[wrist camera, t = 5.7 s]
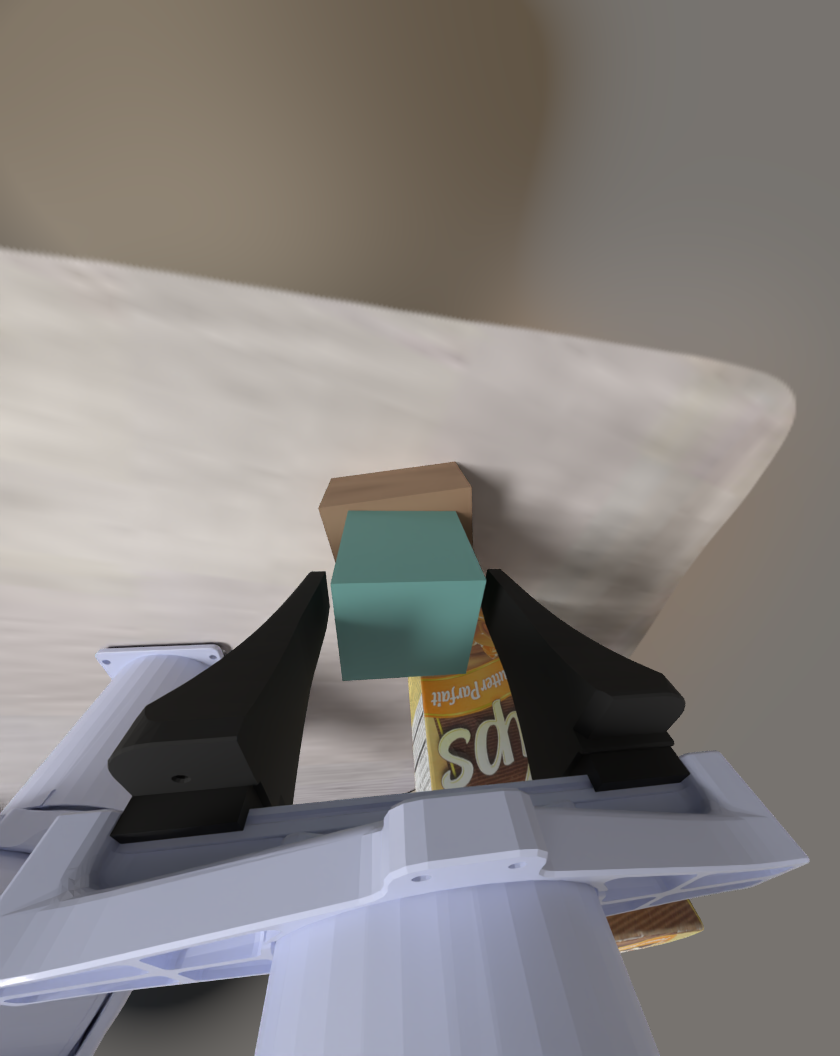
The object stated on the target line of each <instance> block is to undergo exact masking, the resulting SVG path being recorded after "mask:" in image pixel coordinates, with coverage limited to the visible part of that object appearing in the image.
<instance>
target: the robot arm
mask: <svg viewBox="0 0 840 1056" xmlns="http://www.w3.org/2000/svg"><path fill="white" fill-rule="evenodd" d="M329 608H330V605H329V596H328V588H327V580H326V571H323V572H310V573H309V574H308V575H307V576H306V578H305V579H304V580H303V581H302V582H301V584H300V585H299V586H298V587H297V589H296V590H295V591H294V592H293V593H292V594H291V596H290V597H289V598H288V599H287V600H286V601H285V602H284V603H283V604H282V606H281V607H280V608H279V609H278V610H277V611H276V612H275V613H274V614H273V615H272V616H271V617H270V618H269V619H268V620H267V621H266V622H265V623H264V624H263V625H262V626H261V627H260V628H259V629H257V630H256V631H255V632H254V633H253V634H252V635H251V636H249V637H248V638H247V639H246V640H245V641H244V642H242V643H241V644H240V645H239V646H237V647H236V648H235V649H233V650H232V651H231V652H229V653H228V654H227V655H226V656H224V655H223V652H222V650H221V648H220V647H219V646H218V645H215V644H207V645H182V646H156V647H131V648H105V649H101V650H99V651H98V652H97V653H96V654H95V657H96V659H97V660H98V661H99V663H100V664H101V665H102V667H103V668H104V669H105V671H106V672H107V674H108V675H109V676H110V678H111V679H112V681H111V682H110V683H109V685H108V686H107V687H106V688H105V689H104V691H103V692H102V693H101V694H100V695H99V696H98V698H97V699H96V700H95V701H94V702H93V704H92V705H91V706H90V707H89V708H88V710H87V711H86V712H85V713H84V714H83V715H82V717H81V718H80V719H79V720H78V721H77V723H76V724H75V725H74V726H73V727H72V729H71V730H70V731H69V732H68V733H67V735H66V736H65V737H64V738H63V739H62V740H61V742H60V743H59V744H58V745H57V746H56V748H55V749H54V750H53V751H52V752H51V754H50V755H49V756H48V757H47V758H46V759H45V761H44V762H43V763H42V764H41V765H40V767H39V768H38V769H37V770H36V771H35V773H34V774H33V775H32V776H31V777H30V778H29V780H28V781H27V782H26V783H25V784H24V786H23V787H22V788H21V789H20V790H19V792H18V793H17V794H16V795H15V796H14V797H13V799H12V800H11V801H10V802H9V803H8V805H7V806H6V807H5V808H4V809H3V811H2V812H1V813H0V1056H93V1054H94V1052H95V1051H96V1049H97V1047H98V1045H99V1044H100V1042H101V1040H102V1038H103V1037H104V1035H105V1033H106V1032H107V1030H108V1028H109V1027H110V1026H111V1024H112V1023H113V1021H114V1020H115V1018H116V1017H117V1015H118V1014H119V1012H120V1010H121V1009H122V1007H123V1005H124V1004H125V1002H126V1000H127V998H128V997H129V995H130V993H131V991H132V990H135V989H143V988H152V987H160V986H169V985H178V984H186V983H195V982H203V981H212V980H221V979H229V978H238V977H246V976H254V975H264V974H270V975H269V981H268V986H267V991H266V997H265V1003H264V1007H263V1013H262V1018H261V1024H260V1029H259V1034H258V1040H257V1045H256V1050H255V1056H660V1054H659V1051H658V1049H657V1046H656V1044H655V1041H654V1039H653V1036H652V1033H651V1031H650V1029H649V1026H648V1024H647V1021H646V1018H645V1016H644V1013H643V1010H642V1008H641V1005H640V1003H639V1000H638V998H637V995H636V993H635V990H634V987H633V985H632V982H631V980H630V977H629V975H628V972H627V970H626V967H625V965H624V962H623V959H622V957H621V954H620V952H619V949H618V947H617V944H616V941H615V939H614V936H613V934H612V931H611V929H610V926H609V924H608V921H607V918H606V917H607V916H612V915H616V914H621V913H625V912H630V911H635V910H639V909H644V908H649V907H653V906H658V905H662V904H667V903H672V902H676V901H681V900H686V899H691V898H695V897H700V896H705V895H711V894H717V893H722V892H728V891H733V890H739V889H745V888H750V887H753V886H755V885H758V884H760V883H762V882H765V881H767V880H769V879H772V878H774V877H777V876H778V875H781V874H783V873H786V872H788V871H791V870H793V869H795V868H797V867H800V866H802V865H805V864H807V863H809V857H808V856H807V855H806V854H805V853H804V851H803V850H802V849H801V848H800V847H799V845H798V844H797V843H796V842H795V841H794V840H793V838H792V837H791V836H790V835H789V834H788V833H787V831H786V830H785V829H784V828H783V826H782V825H781V824H780V823H779V822H778V821H777V819H776V818H775V817H774V816H773V815H772V813H771V812H770V811H769V810H768V809H767V808H766V806H765V805H764V804H763V803H762V802H761V801H760V799H759V798H758V797H757V796H756V794H755V793H754V792H753V791H752V790H751V788H750V787H749V786H748V785H747V784H746V783H745V781H744V780H743V779H742V778H741V777H740V775H739V774H738V773H737V772H736V771H735V770H734V769H733V767H732V766H731V765H730V764H729V762H728V761H727V760H726V759H725V758H724V757H723V755H722V754H721V753H720V752H719V751H716V750H713V751H702V752H692V753H687V754H683V755H681V756H679V757H678V756H677V755H676V753H675V752H674V751H673V749H672V748H671V746H673V745H674V741H673V739H672V738H671V737H670V735H669V734H668V733H667V730H668V729H669V728H670V727H671V726H672V724H673V723H674V722H675V721H676V720H677V719H678V718H679V717H680V715H681V714H682V713H683V711H684V708H685V700H684V698H683V697H682V696H681V694H680V693H679V692H678V691H677V690H676V689H675V688H674V686H673V685H672V684H671V683H670V682H669V681H668V680H667V679H666V678H665V676H664V675H663V674H662V673H659V672H657V671H654V670H652V669H650V668H648V667H645V666H643V665H641V664H638V663H636V662H634V661H632V660H630V659H628V658H626V657H624V656H622V655H620V654H618V653H616V652H614V651H612V650H610V649H608V648H606V647H604V646H602V645H600V644H599V643H597V642H595V641H593V640H592V639H590V638H588V637H587V636H585V635H583V634H582V633H580V632H578V631H577V630H575V629H574V628H572V627H571V626H569V625H568V624H566V623H565V622H563V621H562V620H560V619H559V618H558V617H556V616H555V615H554V614H552V613H551V612H550V611H548V610H547V609H546V608H544V607H543V606H542V605H541V604H539V603H538V602H537V601H536V600H535V599H533V598H532V597H531V596H530V595H529V594H528V593H526V592H525V591H524V590H523V589H522V588H521V587H520V586H519V585H518V584H516V583H515V582H514V581H513V580H512V579H511V578H510V577H509V576H508V575H506V574H505V573H504V572H503V571H502V570H501V569H487V574H486V584H485V589H484V593H483V598H482V603H481V608H482V612H483V616H484V620H485V624H486V626H487V629H488V631H489V634H490V636H491V639H492V641H493V644H494V646H495V649H496V651H497V654H498V656H499V659H500V661H501V664H502V666H503V669H504V672H505V675H506V678H507V681H508V685H509V688H510V691H511V695H512V698H513V702H514V706H515V710H516V713H517V717H518V721H519V725H520V729H521V733H522V737H523V741H524V746H525V750H526V754H527V759H528V764H529V768H530V773H531V778H532V780H530V781H520V782H510V783H501V784H491V785H481V786H471V787H461V788H452V789H442V790H432V791H422V792H412V793H403V794H393V795H383V796H373V797H363V798H353V799H344V800H334V801H324V802H314V803H304V804H295V805H293V798H294V791H295V783H296V776H297V768H298V762H299V755H300V748H301V741H302V735H303V729H304V723H305V717H306V711H307V705H308V699H309V694H310V688H311V684H312V680H313V676H314V672H315V669H316V665H317V661H318V658H319V654H320V651H321V647H322V643H323V640H324V636H325V632H326V629H327V622H328V616H329Z"/></svg>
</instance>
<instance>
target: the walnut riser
mask: <svg viewBox="0 0 840 1056" xmlns="http://www.w3.org/2000/svg"><path fill="white" fill-rule="evenodd" d="M318 509H319V512H320V515H321V518H322V521H323V524H324V528H325V531H326V534H327V537H328V540H329V544H330V547H331V550H332V553H333V556H334V559H335V563H336V559H337V555H338V551H339V547H340V542H341V538H342V534H343V530H344V526H345V521H346V517H347V513H348V511H456V513H457V515H458V518H459V520H460V522H461V524H462V527H463V529H464V531H465V533H466V536H467V538H468V540H469V542H470V545H471V547H472V549H473V540H472V487H471V485H470V484H469V482H468V481H467V479H466V478H465V476H464V475H463V473H462V472H461V470H460V468H459V467H458V465H457V464H456V462H449V463H442V464H434V465H427V466H420V467H412V468H405V469H397V470H390V471H383V472H375V473H368V474H361V475H353V476H346V477H339V478H331V481H330V483H329V485H328V487H327V490H326V492H325V494H324V496H323V499H322V501H321V503H320V506H319V508H318Z"/></svg>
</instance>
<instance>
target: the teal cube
mask: <svg viewBox="0 0 840 1056" xmlns="http://www.w3.org/2000/svg"><path fill="white" fill-rule="evenodd" d="M485 584H486V578H485V576H484V574H483V572H482V569H481V567H480V565H479V563H478V560H477V558H476V556H475V554H474V551H473V549H472V547H471V545H470V542H469V540H468V538H467V536H466V533H465V531H464V529H463V527H462V524H461V522H460V520H459V518H458V515H457V513H456V511H348V513H347V517H346V521H345V526H344V530H343V534H342V538H341V542H340V547H339V551H338V555H337V559H336V563H335V568H334V572H333V576H332V580H331V591H332V599H333V607H334V615H335V623H336V632H337V640H338V648H339V656H340V664H341V672H342V680H343V681H350V680H367V679H384V678H400V677H417V676H434V675H451V674H466V671H467V666H468V662H469V657H470V653H471V648H472V644H473V639H474V634H475V630H476V625H477V621H478V616H479V612H480V607H481V603H482V598H483V593H484V589H485Z"/></svg>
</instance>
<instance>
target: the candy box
mask: <svg viewBox="0 0 840 1056" xmlns="http://www.w3.org/2000/svg"><path fill="white" fill-rule="evenodd" d="M408 683H409V698H410V711H411V725H412V742H413V758H414V772H415V789H416V792H422V791H432V790H442V789H452V788H461V787H471V786H481V785H491V784H501V783H510V782H520V781H530V780H532V778H531V773H530V768H529V764H528V759H527V754H526V750H525V746H524V741H523V737H522V733H521V729H520V725H519V721H518V717H517V713H516V710H515V706H514V702H513V698H512V695H511V691H510V688H509V685H508V681H507V678H506V675H505V672H504V669H503V666H502V664H501V661H500V659H499V656H498V654H497V651H496V649H495V646H494V644H493V641H492V639H491V636H490V634H489V631H488V629H487V626H486V624H485V620H484V616H483V612H482V608H481V607H480V612H479V616H478V621H477V625H476V630H475V634H474V639H473V644H472V648H471V653H470V657H469V662H468V666H467V671H466V674H451V675H434V676H417V677H408ZM606 918H607V921H608V924H609V926H610V929H611V931H612V934H613V936H614V939H615V941H616V944H617V947H618V949H619V952H620V953H622V952H627V951H632V950H637V949H643V948H647V947H651V946H656V945H660V944H664V943H668V942H671V941H675V940H678V939H682V938H685V937H688V936H691V935H694V934H696V933H699V932H701V931H702V930H704V926H703V924H702V921H701V919H700V917H699V916H698V914H697V912H696V911H695V909H694V907H693V905H692V904H691V902H690V900H689V899H686V900H681V901H676V902H672V903H667V904H662V905H658V906H653V907H649V908H644V909H639V910H635V911H630V912H625V913H621V914H616V915H612V916H607V917H606Z"/></svg>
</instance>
